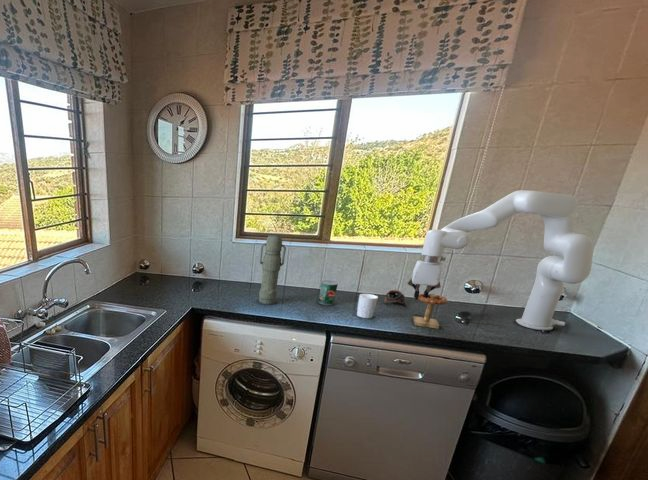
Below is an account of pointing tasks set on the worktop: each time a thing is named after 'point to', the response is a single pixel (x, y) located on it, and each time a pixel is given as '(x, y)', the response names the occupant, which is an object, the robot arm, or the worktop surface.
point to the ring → (431, 301)
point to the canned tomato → (327, 292)
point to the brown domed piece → (394, 297)
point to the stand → (427, 317)
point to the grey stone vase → (271, 268)
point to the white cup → (366, 305)
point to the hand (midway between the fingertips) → (419, 299)
